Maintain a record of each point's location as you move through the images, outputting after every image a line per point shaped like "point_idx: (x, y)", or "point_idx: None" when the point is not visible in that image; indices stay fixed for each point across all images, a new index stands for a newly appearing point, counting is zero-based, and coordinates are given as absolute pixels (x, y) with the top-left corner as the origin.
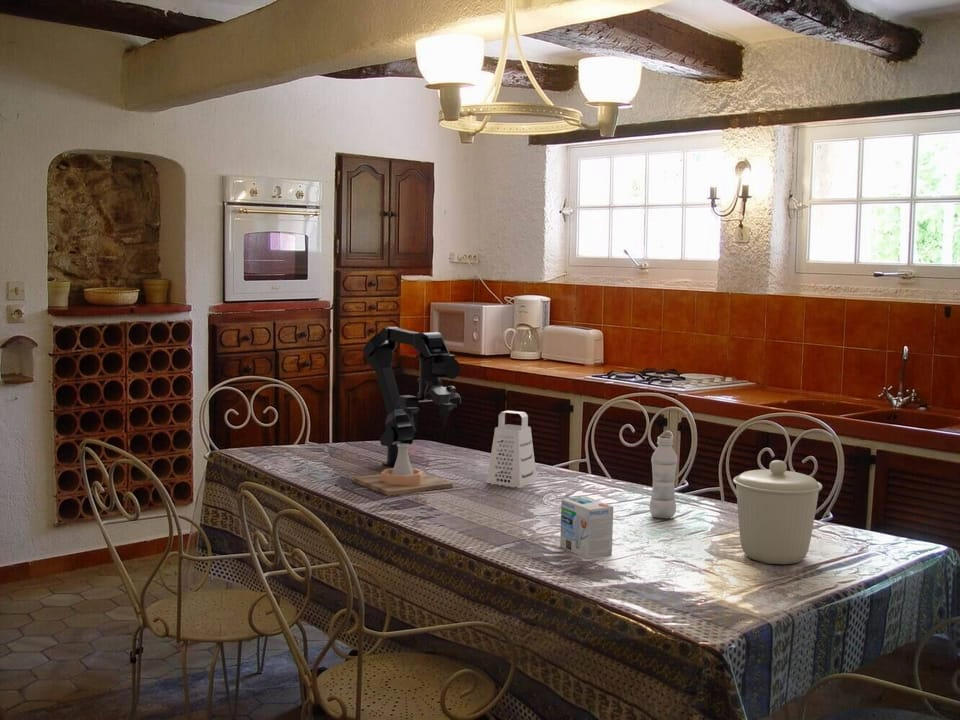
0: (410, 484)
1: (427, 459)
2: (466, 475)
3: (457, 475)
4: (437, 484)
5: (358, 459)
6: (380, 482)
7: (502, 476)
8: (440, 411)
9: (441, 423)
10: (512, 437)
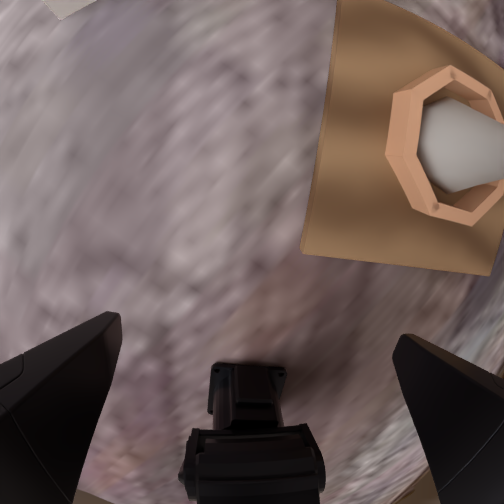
0: None
1: (111, 392)
2: (141, 100)
3: (170, 121)
4: (398, 13)
5: None
6: None
7: (71, 11)
8: (66, 479)
9: (109, 356)
10: None
